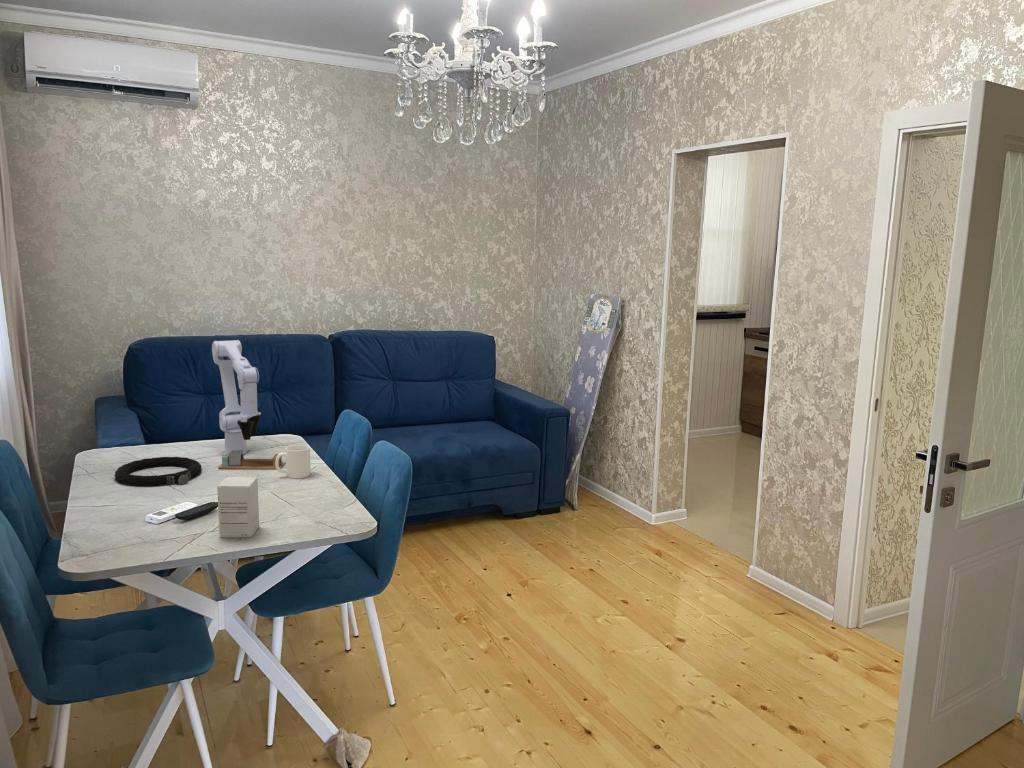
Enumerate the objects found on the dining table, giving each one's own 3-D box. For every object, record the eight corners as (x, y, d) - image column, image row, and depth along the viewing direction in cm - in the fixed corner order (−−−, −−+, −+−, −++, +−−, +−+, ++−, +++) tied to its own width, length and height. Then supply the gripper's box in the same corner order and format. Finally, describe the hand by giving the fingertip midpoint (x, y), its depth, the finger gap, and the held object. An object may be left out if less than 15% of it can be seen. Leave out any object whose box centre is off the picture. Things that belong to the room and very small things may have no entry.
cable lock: (175, 451, 280) (221, 466, 262) (176, 461, 281) (221, 476, 263) (98, 466, 258) (142, 483, 241) (99, 476, 259) (143, 495, 241)
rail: (224, 463, 278) (224, 452, 277) (285, 463, 280) (285, 452, 279) (218, 469, 270) (217, 458, 270) (280, 469, 272) (280, 458, 271)
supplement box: (228, 526, 216) (226, 476, 213) (260, 526, 216) (258, 476, 214) (218, 538, 207) (216, 485, 204) (251, 538, 207) (249, 486, 205)
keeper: (232, 462, 277) (232, 450, 276) (243, 462, 277) (243, 450, 276) (229, 465, 272) (228, 453, 271) (240, 465, 273) (240, 453, 272)
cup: (313, 477, 264) (312, 449, 263) (278, 481, 258) (277, 452, 257) (306, 471, 271) (306, 443, 270) (272, 475, 265) (272, 447, 264)
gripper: (254, 404, 267) (255, 442, 269) (265, 397, 281) (266, 432, 283) (234, 404, 266) (235, 441, 269) (246, 396, 280) (247, 432, 283)
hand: (250, 437), depth 276 cm, fingers open, 7 cm apart
